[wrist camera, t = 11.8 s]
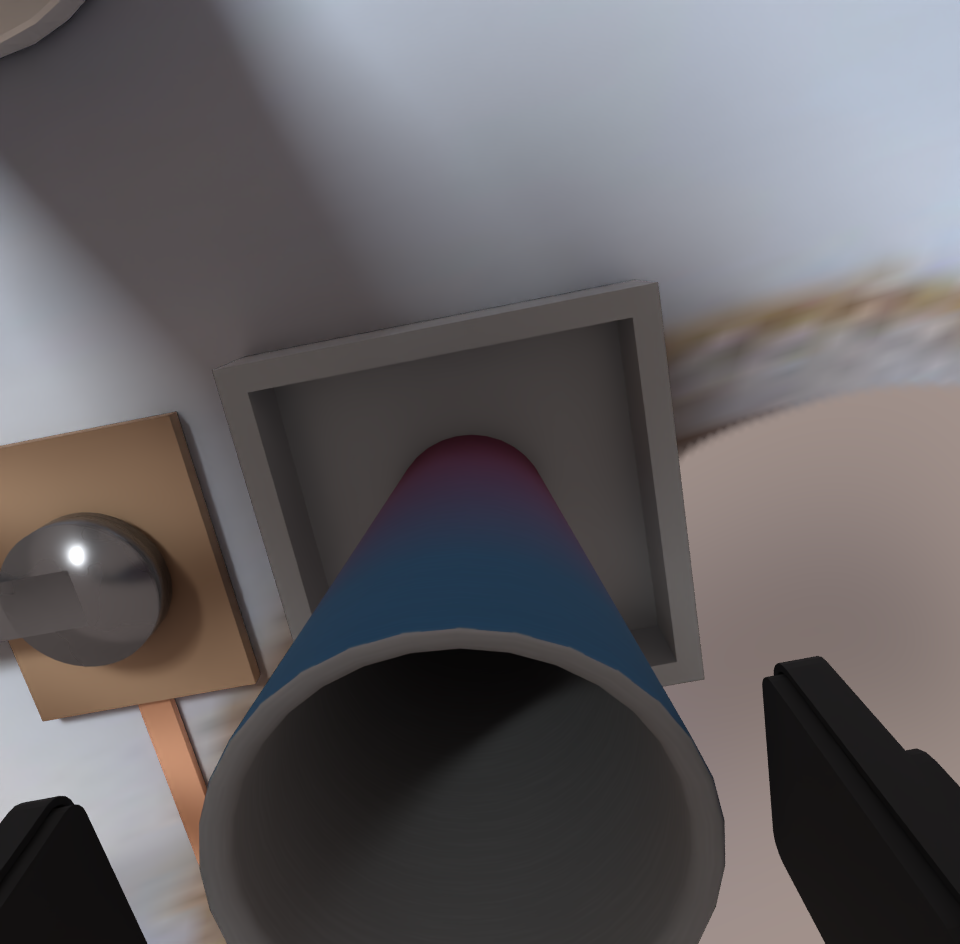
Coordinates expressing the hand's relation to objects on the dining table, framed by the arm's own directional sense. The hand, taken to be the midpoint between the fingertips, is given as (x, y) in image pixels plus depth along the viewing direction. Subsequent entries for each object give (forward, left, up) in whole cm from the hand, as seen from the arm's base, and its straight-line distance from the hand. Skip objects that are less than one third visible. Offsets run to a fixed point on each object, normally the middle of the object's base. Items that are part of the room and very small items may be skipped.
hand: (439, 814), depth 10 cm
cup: (+1, 0, -15) cm, 15 cm away
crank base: (+6, -13, -15) cm, 21 cm away
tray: (+1, 0, -15) cm, 15 cm away
